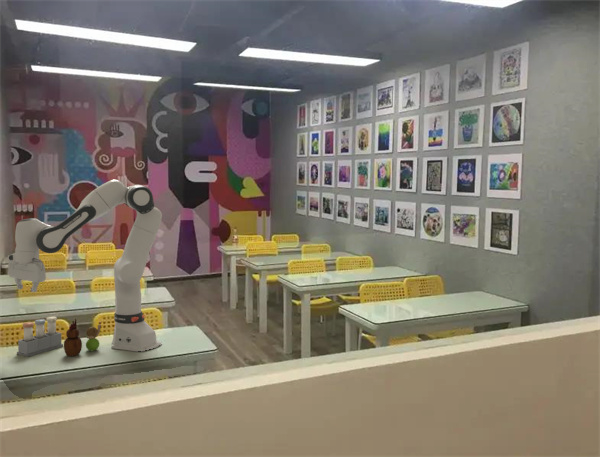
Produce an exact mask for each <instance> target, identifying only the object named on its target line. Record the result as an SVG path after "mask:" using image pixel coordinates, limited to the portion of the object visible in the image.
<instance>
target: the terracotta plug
mask: <svg viewBox="0 0 600 457" xmlns="http://www.w3.org/2000/svg"><path fill="white" fill-rule="evenodd" d="M34 325H35V322H33V321H26V322H23V323H22V328H23V339H24V341H25V342H29V341H32V340H33V336H34V335H33V334H34V332H33V331H34V330H33V329H34V328H33V327H34Z"/></svg>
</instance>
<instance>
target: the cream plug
mask: <svg viewBox="0 0 600 457" xmlns="http://www.w3.org/2000/svg"><path fill="white" fill-rule="evenodd" d="M57 319H58V318H57V316H47V317H46V319H45V322H47V333H48V335H54V334H56V332H57V330H56V328H57V326H56V325H57Z"/></svg>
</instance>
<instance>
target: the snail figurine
mask: <svg viewBox="0 0 600 457" xmlns="http://www.w3.org/2000/svg"><path fill="white" fill-rule="evenodd" d="M101 323H102V322H101V321H99V324H98V325H97V328H96V327H95V326H90V327H89V328H87V329H86V335H87V336H86V338H87V339H88V340H87V341H86V343H85V347H86V349H87V350H88V351H90V352H94V351H96V350H98V349H99V346H100V341H99V339H98V338H97V337H98V336H99V334H100V333H101V327H102V324H101Z"/></svg>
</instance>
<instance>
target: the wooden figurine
mask: <svg viewBox="0 0 600 457" xmlns="http://www.w3.org/2000/svg"><path fill="white" fill-rule="evenodd" d="M77 327H78V325H77V318H74V320H72V323H70V326H69V327H68V329H67V331H66V334H65V335H66V338H65V340H64V341H63V350H64V353H65V355H66V356H67V357H76V356H78V355H80V353H81V351H82V348H83V343H82V342H83V341H82V339H81V337H79V335H80V331H79V330H80V329H78V328H77Z"/></svg>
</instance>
